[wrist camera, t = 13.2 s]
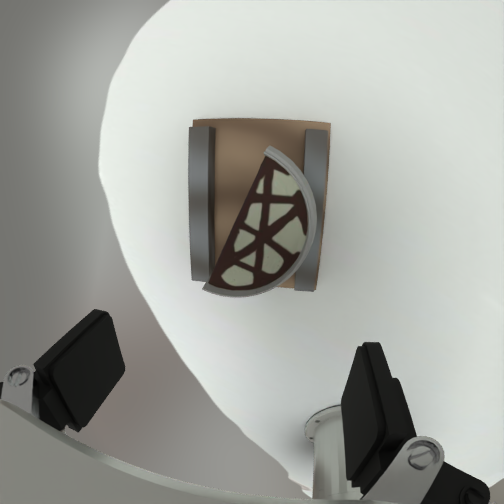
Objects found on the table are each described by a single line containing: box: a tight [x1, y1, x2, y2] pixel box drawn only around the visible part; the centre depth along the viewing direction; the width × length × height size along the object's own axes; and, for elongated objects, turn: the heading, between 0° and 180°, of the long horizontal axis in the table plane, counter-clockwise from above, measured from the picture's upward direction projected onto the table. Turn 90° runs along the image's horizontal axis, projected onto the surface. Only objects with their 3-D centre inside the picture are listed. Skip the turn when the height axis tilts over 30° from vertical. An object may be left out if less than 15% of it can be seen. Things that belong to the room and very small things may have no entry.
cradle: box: [188, 118, 331, 292], centre depth 29 cm, size 18×14×4 cm
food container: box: [202, 146, 317, 297], centre depth 25 cm, size 12×6×10 cm, turn 155°
